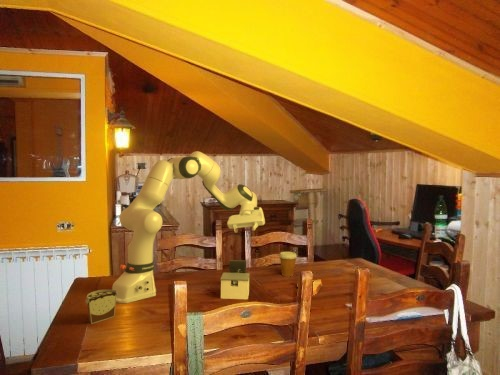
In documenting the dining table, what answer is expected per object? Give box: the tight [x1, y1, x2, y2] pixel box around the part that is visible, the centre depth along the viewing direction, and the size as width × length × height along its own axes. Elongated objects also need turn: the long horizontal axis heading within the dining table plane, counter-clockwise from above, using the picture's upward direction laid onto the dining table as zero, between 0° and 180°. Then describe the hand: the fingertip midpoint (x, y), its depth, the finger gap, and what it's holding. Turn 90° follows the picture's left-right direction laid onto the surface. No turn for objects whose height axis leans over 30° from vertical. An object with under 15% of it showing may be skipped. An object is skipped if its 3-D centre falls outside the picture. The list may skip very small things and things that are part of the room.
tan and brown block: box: [84, 289, 118, 325], centre depth 148 cm, size 12×6×10 cm, turn 141°
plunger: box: [228, 259, 247, 285], centre depth 182 cm, size 17×8×11 cm, turn 177°
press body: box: [220, 272, 250, 300], centre depth 177 cm, size 10×12×9 cm
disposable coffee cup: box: [279, 251, 297, 278], centre depth 212 cm, size 10×10×12 cm
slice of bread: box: [296, 278, 323, 297], centre depth 189 cm, size 18×18×4 cm
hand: (244, 230), depth 202 cm, fingers open, 8 cm apart
